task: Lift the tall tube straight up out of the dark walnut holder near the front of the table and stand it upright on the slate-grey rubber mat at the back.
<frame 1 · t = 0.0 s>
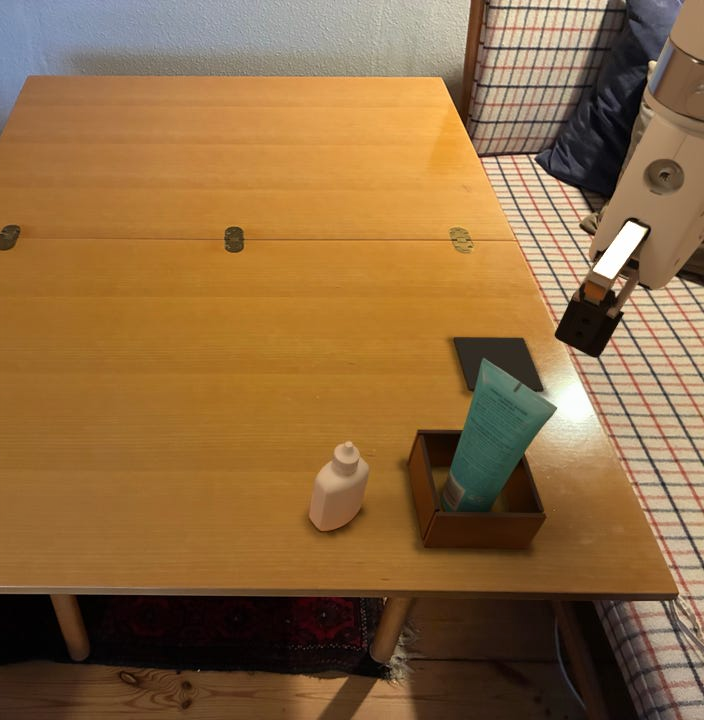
hand: (606, 311, 51), 30 cm above the table, tool pointing down, fingers open, 9 cm apart
mat: (496, 364, 87), on the table
eye dropper bottle: (334, 514, 73), on the table
tube: (463, 504, 74), resting in tube holder
tube holder: (464, 503, 73), on the table
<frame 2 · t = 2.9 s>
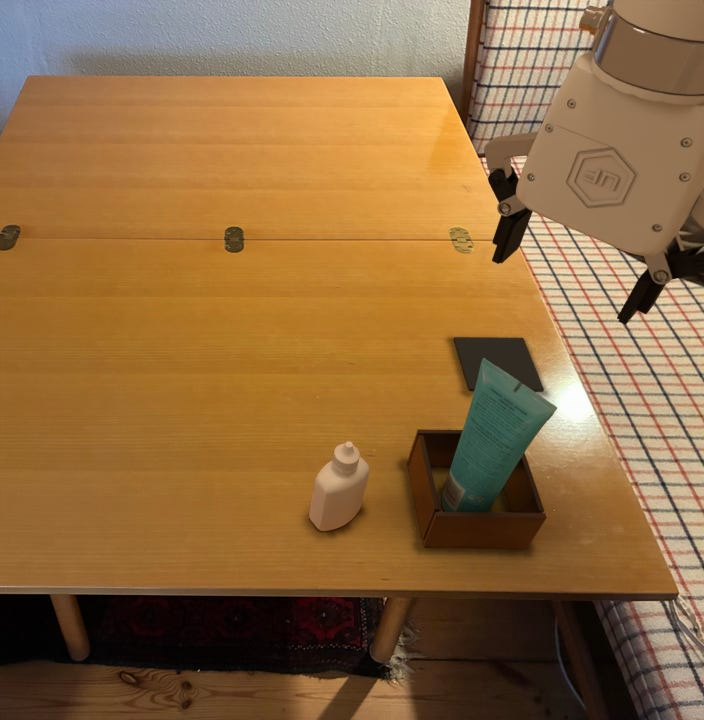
hand: (564, 283, 52), 30 cm above the table, tool pointing down, fingers open, 9 cm apart
nothing on the table moved.
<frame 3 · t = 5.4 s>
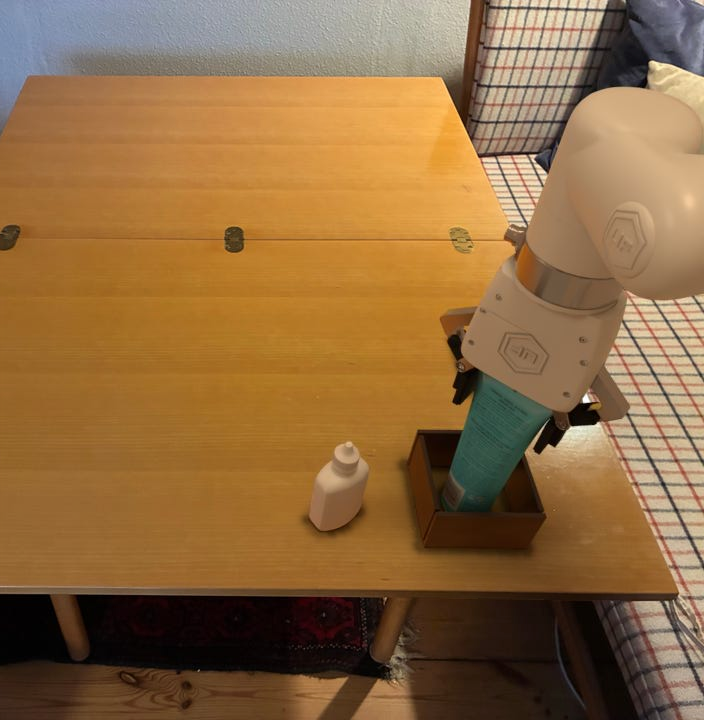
hand: (502, 418, 63), 14 cm above the table, tool pointing down, fingers closed on tube, 7 cm apart
tube: (463, 504, 74), resting in tube holder, touching gripper
everything else where it was.
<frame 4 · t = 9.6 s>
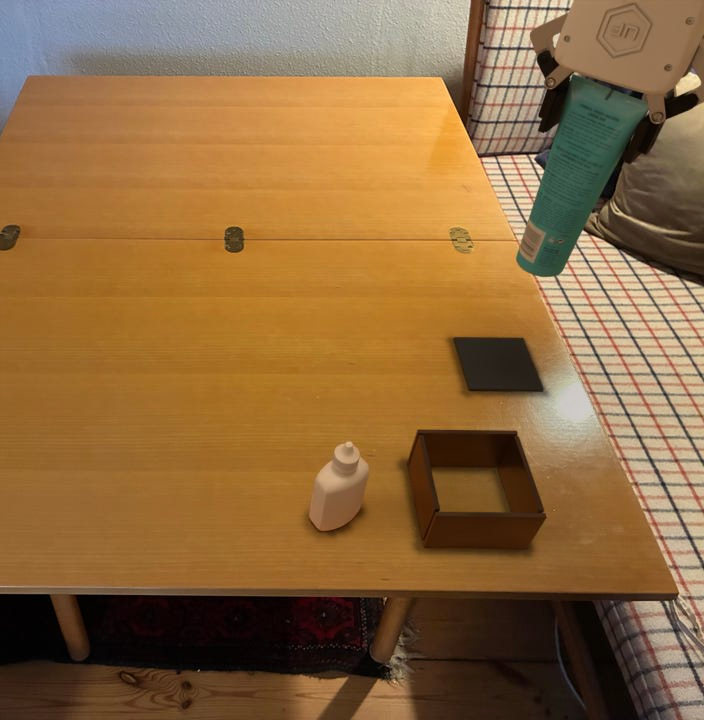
hand: (589, 140, 64), 31 cm above the table, tool pointing down, fingers closed on tube, 7 cm apart
tube: (538, 264, 74), point 17 cm above the table, touching gripper
everything else where it was.
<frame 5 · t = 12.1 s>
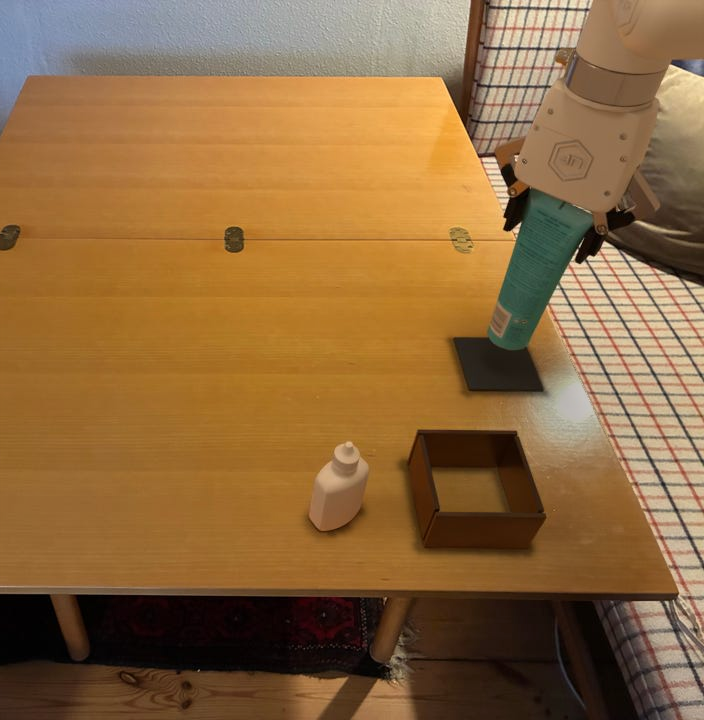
hand: (547, 240, 74), 19 cm above the table, tool pointing down, fingers closed on tube, 7 cm apart
tube: (507, 337, 84), point 5 cm above the table, touching gripper
everything else where it was.
when the fingers open (15 cm above the table, at t = 13.8 s): tube stays where it is, resting on mat.
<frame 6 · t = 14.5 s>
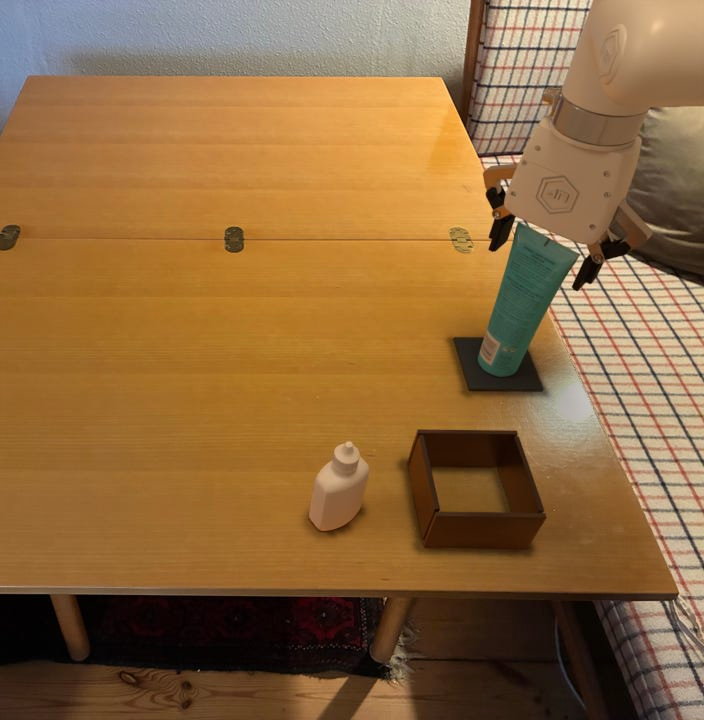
hand: (537, 264, 76), 16 cm above the table, tool pointing down, fingers open, 9 cm apart
tube: (496, 363, 87), resting on mat
everything else where it was.
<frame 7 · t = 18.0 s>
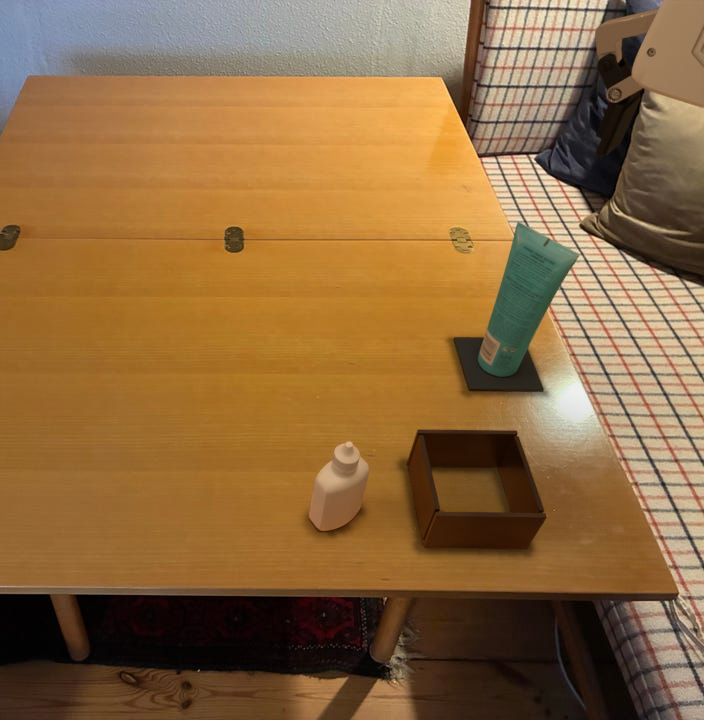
hand: (672, 172, 51), 36 cm above the table, tool pointing down, fingers open, 9 cm apart
nothing on the table moved.
at the end: tube inside the target area on the mat (0.1 cm from its centre), point 0.2 cm above the mat's base; tube tilted 0°; tube touching mat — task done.
